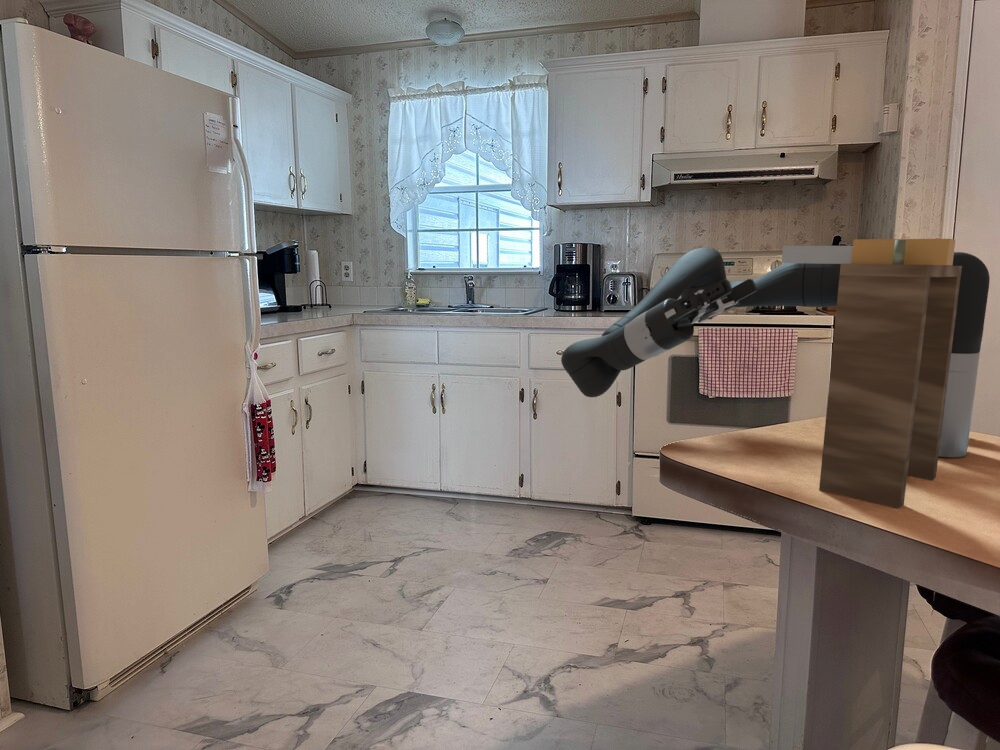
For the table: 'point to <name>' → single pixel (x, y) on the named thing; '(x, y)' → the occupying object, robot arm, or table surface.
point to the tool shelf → (888, 377)
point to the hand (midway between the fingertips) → (742, 284)
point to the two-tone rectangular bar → (874, 252)
